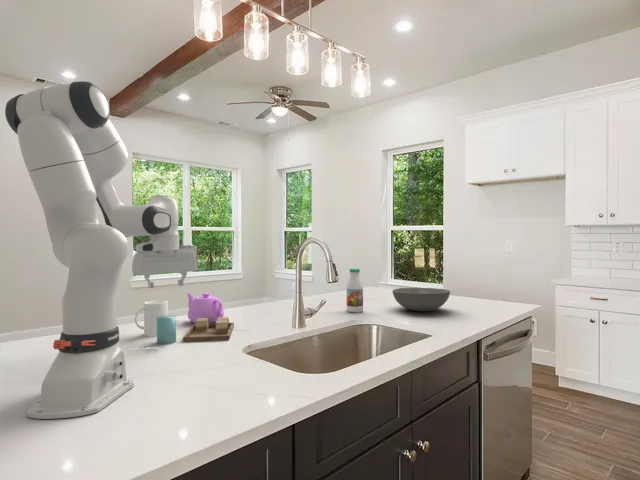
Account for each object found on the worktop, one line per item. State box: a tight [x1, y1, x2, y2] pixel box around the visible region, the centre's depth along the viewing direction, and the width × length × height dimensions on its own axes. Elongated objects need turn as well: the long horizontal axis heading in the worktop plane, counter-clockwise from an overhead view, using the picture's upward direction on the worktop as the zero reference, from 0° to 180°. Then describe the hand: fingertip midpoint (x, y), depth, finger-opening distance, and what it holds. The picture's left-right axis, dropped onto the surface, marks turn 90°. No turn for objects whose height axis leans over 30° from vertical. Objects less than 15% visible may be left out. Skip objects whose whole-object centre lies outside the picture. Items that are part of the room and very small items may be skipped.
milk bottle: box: [346, 267, 364, 313], centre depth 186 cm, size 8×8×20 cm
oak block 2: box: [218, 316, 230, 330], centre depth 151 cm, size 4×4×4 cm
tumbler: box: [156, 314, 177, 345], centre depth 133 cm, size 6×6×9 cm
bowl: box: [392, 287, 451, 312], centre depth 188 cm, size 26×26×10 cm
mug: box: [134, 299, 169, 337], centre depth 144 cm, size 12×8×12 cm
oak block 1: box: [196, 318, 208, 332], centre depth 149 cm, size 4×4×4 cm
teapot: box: [185, 291, 225, 324], centre depth 163 cm, size 20×14×12 cm
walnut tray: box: [182, 322, 235, 343], centre depth 144 cm, size 20×15×2 cm
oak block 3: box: [215, 320, 228, 334], centre depth 146 cm, size 4×4×4 cm
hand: (166, 286), depth 133 cm, fingers open, 8 cm apart
